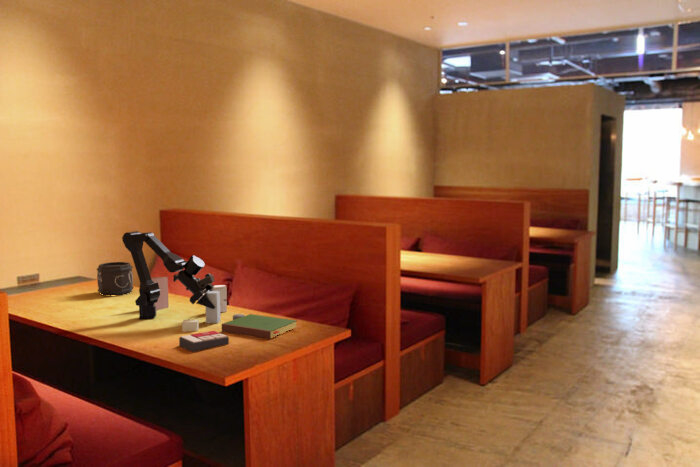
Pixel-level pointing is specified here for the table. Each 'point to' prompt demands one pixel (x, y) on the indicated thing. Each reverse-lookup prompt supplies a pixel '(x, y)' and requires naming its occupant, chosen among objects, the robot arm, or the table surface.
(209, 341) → the calculator
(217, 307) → the light grey block
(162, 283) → the greeting card
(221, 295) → the skincare box
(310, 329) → the table surface
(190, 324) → the cream block
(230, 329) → the hardcover book
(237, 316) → the grey rounded dome
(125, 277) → the dark decorated pot
